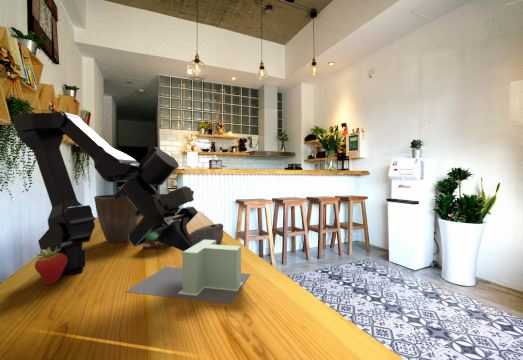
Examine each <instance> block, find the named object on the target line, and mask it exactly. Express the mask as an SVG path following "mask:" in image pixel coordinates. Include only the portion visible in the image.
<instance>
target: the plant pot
mask: <svg viewBox="0 0 523 360" xmlns="http://www.w3.org/2000/svg"><path fill="white" fill-rule="evenodd" d="M93 198H94V203H95V204H94V205H95V208H96V209H95V210H96V214H97V218H98V222H99V225H100V228H101V230H102V233H103V236H104V238H105V240H106V242H107V243H109V244H121V243H126V242H130V241H129V240H128V233H129V232H130V231H131V230H132V229H133V228H134V227H135V226H136V225H137V223H138V222H139V217H137V216H136V214H135V213H136V211H137V209H136V208H135V207H134V205H133V204H132V203H131V202H130V201H129V200H128V199H127V198H125V199H115V194H104V195H96V196H94V197H93Z"/></svg>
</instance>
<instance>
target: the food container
mask: <svg viewBox="0 0 523 360" xmlns="http://www.w3.org/2000/svg"><path fill="white" fill-rule="evenodd" d="M142 218H143V217H142V216H139V219H138V222H139V221H140V220H141V219H142ZM157 237H158V235H157V232H156V231H155V232H152V233H150V234H147V235H146V236H145V243H144V244H142V249H145V250H160V249H165V248H169V247H170V246H169V245H166V244H163V243H160V242H155V239H156V238H157Z"/></svg>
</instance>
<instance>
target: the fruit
mask: <svg viewBox="0 0 523 360" xmlns="http://www.w3.org/2000/svg"><path fill="white" fill-rule="evenodd" d="M60 249H61V248H60ZM60 249H57V246H56V250H55V251H54V252H52V253H51V249H50V248H49V247H48V248H47V250H46V252H45V251H44V250H42V249H40V251H39V254H38V253H36V255H37V256H39V257H36V259H37V260H36V261H35V263H34V269H35V271H36V272H37V274H39V276H40V278H41V279H42V281H43V283H44V284H46V285H53V284H56V283H57V282H58V281H59V279H60V278H61V276H62V275H61V274H62V272H63V270H64V268H65V266H66V264H67V257H66V255H64V254H62V253H56V252H58V251H59V250H60Z"/></svg>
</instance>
